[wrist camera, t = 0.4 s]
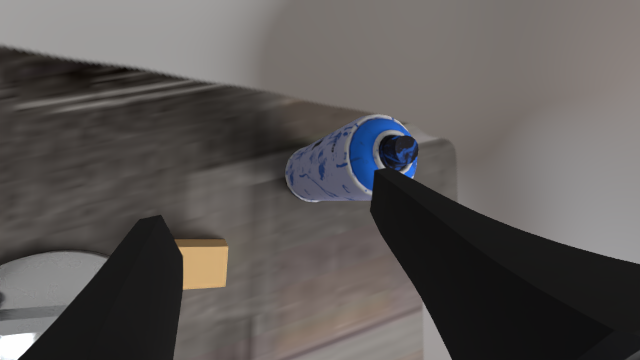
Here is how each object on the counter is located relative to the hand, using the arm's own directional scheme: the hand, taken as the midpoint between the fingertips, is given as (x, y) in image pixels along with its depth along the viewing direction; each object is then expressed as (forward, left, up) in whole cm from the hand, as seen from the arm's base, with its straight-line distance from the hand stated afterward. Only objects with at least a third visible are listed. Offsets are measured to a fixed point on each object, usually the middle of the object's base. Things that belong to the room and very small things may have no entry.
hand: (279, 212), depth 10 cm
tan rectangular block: (-6, +3, -27) cm, 28 cm away
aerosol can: (+5, -11, -27) cm, 29 cm away
